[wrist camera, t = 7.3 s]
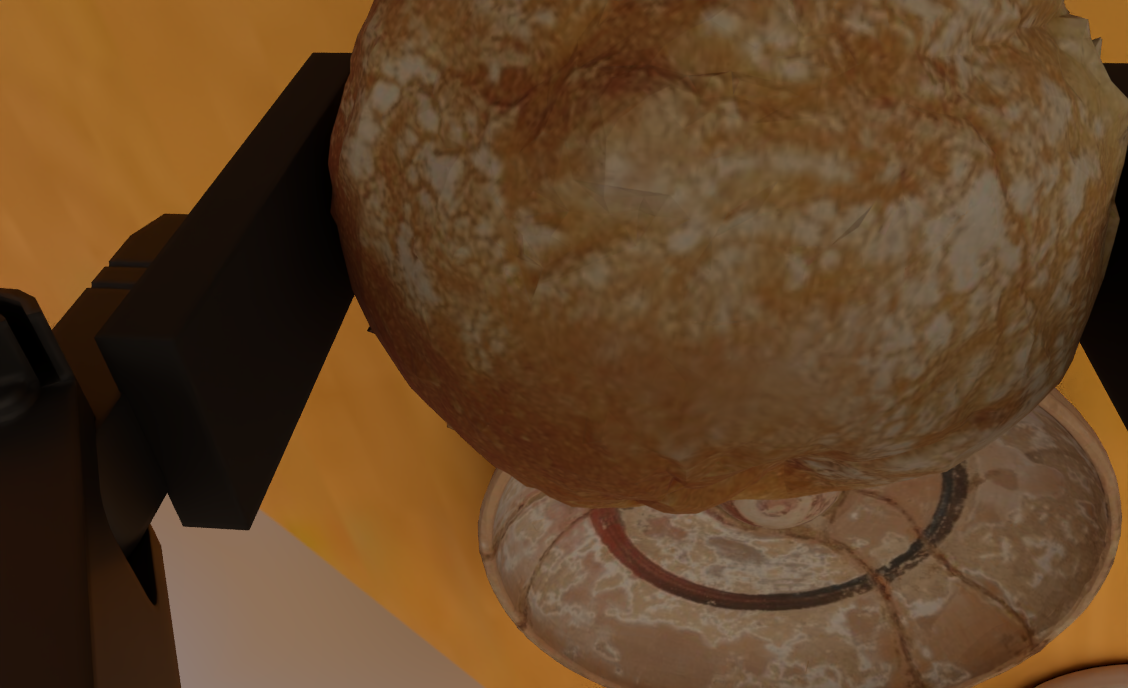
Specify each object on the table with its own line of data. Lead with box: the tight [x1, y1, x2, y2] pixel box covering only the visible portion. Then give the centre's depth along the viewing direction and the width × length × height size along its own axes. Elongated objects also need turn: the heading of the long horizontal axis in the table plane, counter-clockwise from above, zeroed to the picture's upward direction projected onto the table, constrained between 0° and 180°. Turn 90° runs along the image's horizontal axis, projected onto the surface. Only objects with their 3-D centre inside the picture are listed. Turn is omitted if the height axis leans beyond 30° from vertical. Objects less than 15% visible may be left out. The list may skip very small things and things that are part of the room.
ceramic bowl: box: [478, 388, 1122, 688], centre depth 36 cm, size 23×24×5 cm
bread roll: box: [328, 0, 1128, 514], centre depth 12 cm, size 10×10×8 cm
